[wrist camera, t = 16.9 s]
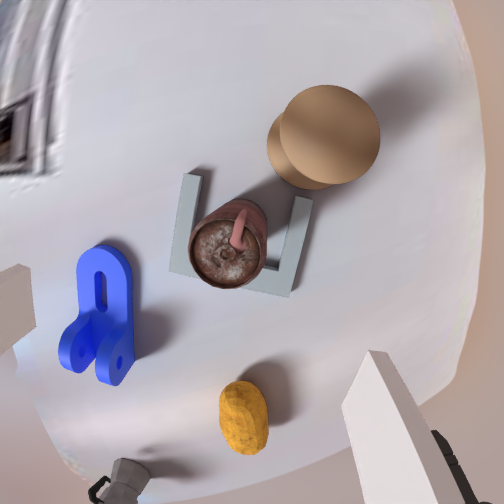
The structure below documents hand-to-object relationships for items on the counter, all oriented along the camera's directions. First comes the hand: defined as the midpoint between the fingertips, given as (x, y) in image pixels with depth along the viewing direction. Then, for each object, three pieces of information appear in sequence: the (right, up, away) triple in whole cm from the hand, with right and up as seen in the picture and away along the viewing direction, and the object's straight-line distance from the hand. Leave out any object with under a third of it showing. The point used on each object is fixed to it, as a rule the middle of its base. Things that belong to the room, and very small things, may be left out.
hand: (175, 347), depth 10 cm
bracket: (-18, -4, +30) cm, 36 cm away
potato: (+2, -20, +33) cm, 39 cm away
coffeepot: (-25, -46, +41) cm, 67 cm away
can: (+1, +7, +26) cm, 27 cm away
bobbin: (+9, +15, +23) cm, 29 cm away
